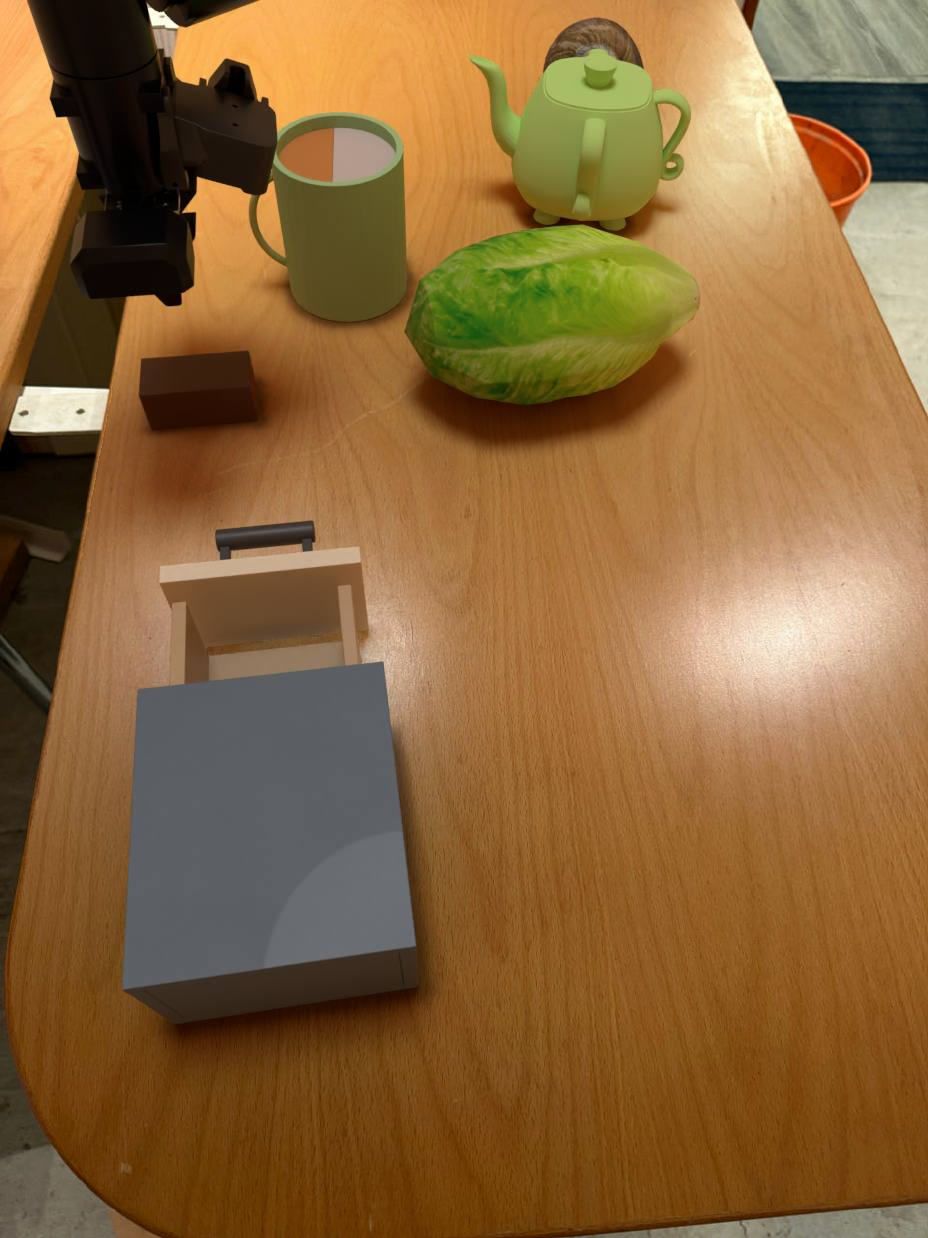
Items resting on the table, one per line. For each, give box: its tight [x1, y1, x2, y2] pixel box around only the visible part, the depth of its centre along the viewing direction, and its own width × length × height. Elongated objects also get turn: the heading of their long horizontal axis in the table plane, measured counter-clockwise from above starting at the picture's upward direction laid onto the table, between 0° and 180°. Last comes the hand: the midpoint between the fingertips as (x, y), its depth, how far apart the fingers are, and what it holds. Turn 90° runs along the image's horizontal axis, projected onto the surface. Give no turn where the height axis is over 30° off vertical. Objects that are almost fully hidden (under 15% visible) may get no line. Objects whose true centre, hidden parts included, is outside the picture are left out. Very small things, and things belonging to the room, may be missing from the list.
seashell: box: [542, 16, 645, 74], centre depth 91 cm, size 11×9×8 cm
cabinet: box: [121, 660, 420, 1025], centre depth 46 cm, size 15×13×9 cm
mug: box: [248, 111, 408, 323], centre depth 73 cm, size 13×10×12 cm
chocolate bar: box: [138, 350, 259, 431], centre depth 68 cm, size 4×8×4 cm, turn 98°
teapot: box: [468, 49, 692, 231], centre depth 80 cm, size 16×14×13 cm
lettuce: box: [404, 224, 701, 406], centre depth 67 cm, size 13×23×12 cm, turn 103°
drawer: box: [158, 519, 370, 686], centre depth 52 cm, size 18×11×7 cm, turn 8°
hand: (174, 299), depth 61 cm, fingers closed
